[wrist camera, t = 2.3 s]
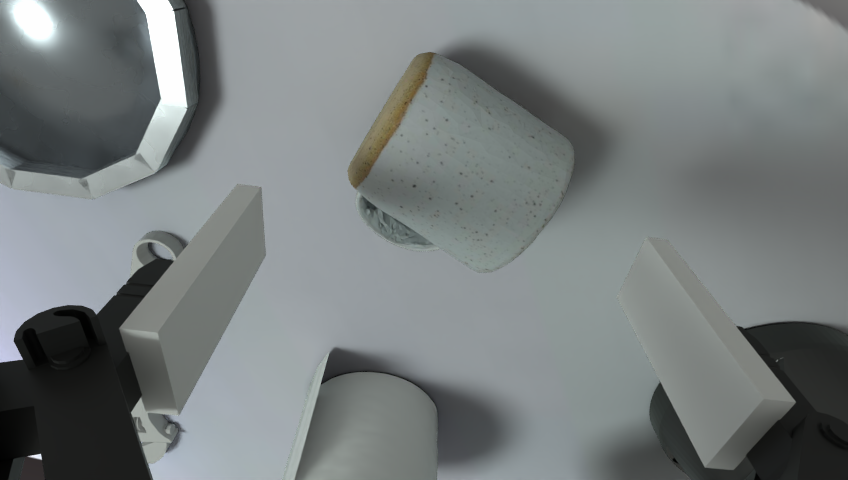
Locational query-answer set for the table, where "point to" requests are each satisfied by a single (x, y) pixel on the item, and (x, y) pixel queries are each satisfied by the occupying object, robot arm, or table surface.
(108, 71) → the flange seat
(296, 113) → the table surface
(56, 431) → the robot arm
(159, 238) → the adjustable wrench
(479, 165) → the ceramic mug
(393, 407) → the toilet tissue
